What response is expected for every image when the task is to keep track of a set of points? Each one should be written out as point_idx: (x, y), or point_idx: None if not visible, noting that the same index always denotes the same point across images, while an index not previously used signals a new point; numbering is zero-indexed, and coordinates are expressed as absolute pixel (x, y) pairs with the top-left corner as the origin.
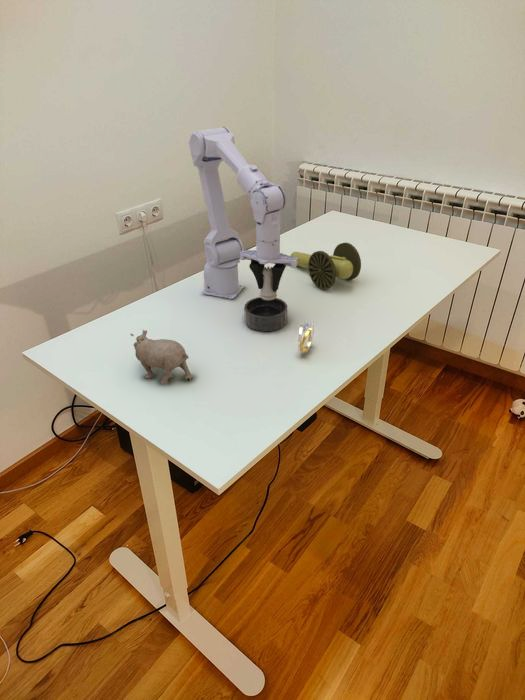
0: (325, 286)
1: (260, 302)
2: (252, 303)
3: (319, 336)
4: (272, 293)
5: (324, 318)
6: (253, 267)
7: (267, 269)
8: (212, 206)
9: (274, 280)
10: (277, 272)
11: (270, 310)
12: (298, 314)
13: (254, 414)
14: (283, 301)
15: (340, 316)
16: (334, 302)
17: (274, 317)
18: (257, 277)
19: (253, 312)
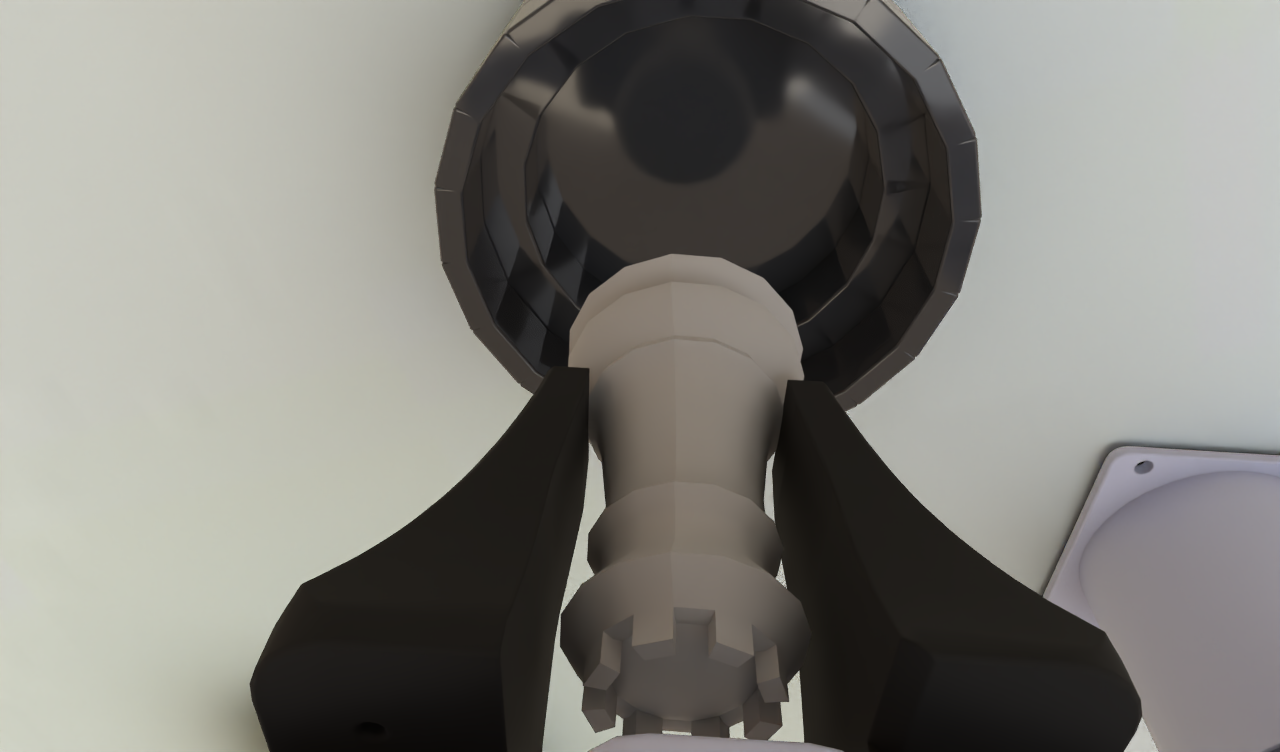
0: None
1: (812, 368)
2: (894, 314)
3: (71, 41)
4: (599, 344)
5: (210, 358)
6: (1013, 645)
7: (704, 689)
8: None
9: (520, 474)
10: (368, 586)
11: None
12: (448, 362)
13: None
14: None
15: (110, 417)
16: (265, 577)
17: (513, 26)
18: (871, 500)
19: (859, 230)
